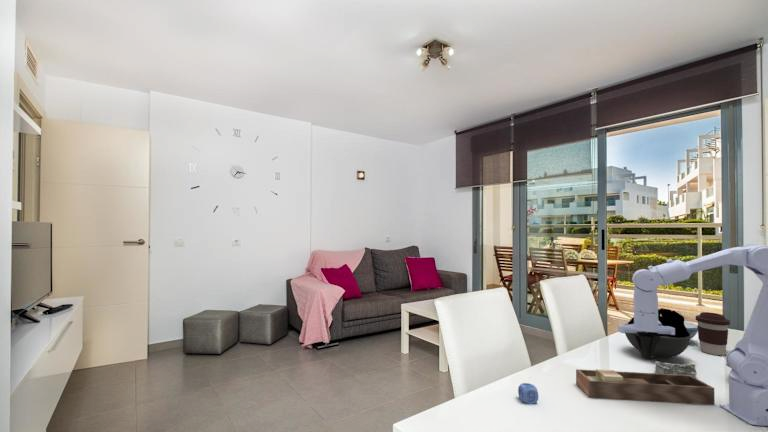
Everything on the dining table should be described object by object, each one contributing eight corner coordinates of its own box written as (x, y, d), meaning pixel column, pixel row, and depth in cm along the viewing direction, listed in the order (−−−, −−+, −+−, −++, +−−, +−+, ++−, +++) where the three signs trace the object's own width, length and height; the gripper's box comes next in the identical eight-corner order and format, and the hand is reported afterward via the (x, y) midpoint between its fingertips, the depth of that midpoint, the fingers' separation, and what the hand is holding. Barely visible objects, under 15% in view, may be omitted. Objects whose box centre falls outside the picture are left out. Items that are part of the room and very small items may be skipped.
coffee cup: (728, 359, 132) (727, 318, 132) (693, 351, 140) (693, 313, 140) (732, 353, 138) (731, 314, 139) (698, 346, 146) (698, 310, 146)
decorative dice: (532, 397, 100) (532, 382, 100) (538, 404, 96) (538, 389, 96) (517, 397, 100) (518, 382, 100) (523, 404, 96) (523, 389, 96)
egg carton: (697, 377, 116) (697, 364, 116) (696, 384, 110) (696, 371, 110) (656, 368, 123) (656, 356, 123) (653, 374, 118) (653, 361, 118)
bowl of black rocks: (678, 371, 119) (678, 315, 120) (614, 353, 136) (613, 304, 137) (699, 360, 130) (698, 308, 131) (637, 344, 147) (636, 299, 148)
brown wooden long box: (690, 390, 106) (690, 375, 106) (714, 404, 97) (714, 388, 97) (576, 384, 108) (576, 369, 109) (589, 397, 100) (589, 381, 100)
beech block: (623, 386, 101) (623, 377, 101) (604, 385, 101) (604, 376, 101) (613, 378, 106) (613, 370, 106) (595, 377, 106) (595, 369, 106)
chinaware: (645, 337, 158) (645, 319, 158) (669, 334, 163) (669, 317, 163) (682, 348, 144) (682, 328, 144) (707, 345, 148) (707, 326, 149)
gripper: (662, 308, 107) (663, 354, 106) (611, 307, 108) (612, 352, 107) (680, 314, 100) (681, 363, 99) (625, 312, 101) (626, 361, 100)
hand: (646, 358), depth 103 cm, fingers closed
